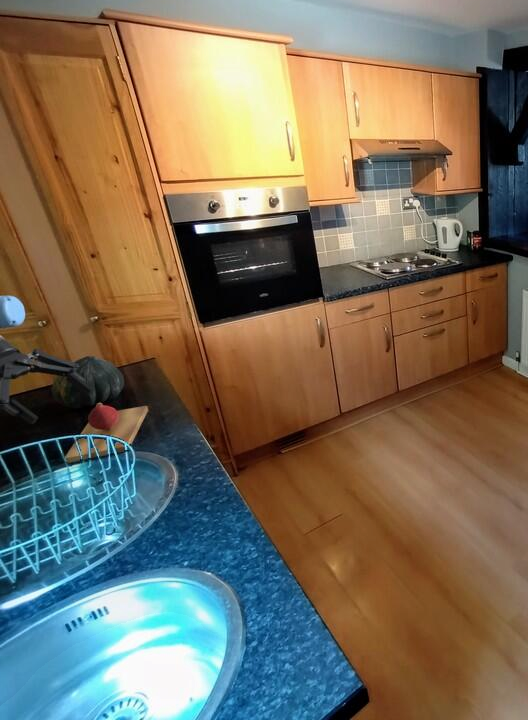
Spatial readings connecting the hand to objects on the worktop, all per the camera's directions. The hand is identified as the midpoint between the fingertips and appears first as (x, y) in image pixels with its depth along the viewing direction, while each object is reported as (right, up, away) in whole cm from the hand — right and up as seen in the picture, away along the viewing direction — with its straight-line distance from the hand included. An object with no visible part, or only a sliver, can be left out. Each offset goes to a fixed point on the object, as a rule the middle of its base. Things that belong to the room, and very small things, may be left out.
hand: (64, 405), depth 116 cm
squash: (-7, -1, +17) cm, 18 cm away
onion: (+10, -7, +1) cm, 12 cm away
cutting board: (+10, -8, +2) cm, 13 cm away
